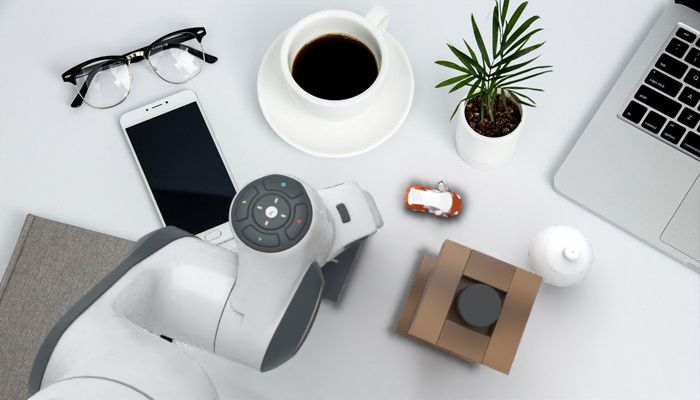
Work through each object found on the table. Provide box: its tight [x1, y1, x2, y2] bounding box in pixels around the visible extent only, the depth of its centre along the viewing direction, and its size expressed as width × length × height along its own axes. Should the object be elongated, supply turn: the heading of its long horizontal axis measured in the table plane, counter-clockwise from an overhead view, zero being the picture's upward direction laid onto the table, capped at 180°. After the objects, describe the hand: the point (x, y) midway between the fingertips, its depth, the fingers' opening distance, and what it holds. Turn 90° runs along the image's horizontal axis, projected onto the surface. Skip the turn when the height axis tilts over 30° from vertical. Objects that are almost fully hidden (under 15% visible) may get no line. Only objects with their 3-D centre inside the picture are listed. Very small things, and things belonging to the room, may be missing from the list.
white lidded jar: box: [528, 224, 594, 288], centre depth 78 cm, size 8×8×12 cm
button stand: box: [394, 238, 543, 376], centre depth 71 cm, size 11×11×24 cm
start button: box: [455, 284, 502, 327], centre depth 59 cm, size 4×4×3 cm
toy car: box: [404, 179, 463, 219], centre depth 84 cm, size 5×8×3 cm, turn 78°
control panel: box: [321, 240, 364, 304], centre depth 83 cm, size 10×12×3 cm
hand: (308, 248), depth 81 cm, fingers open, 8 cm apart
